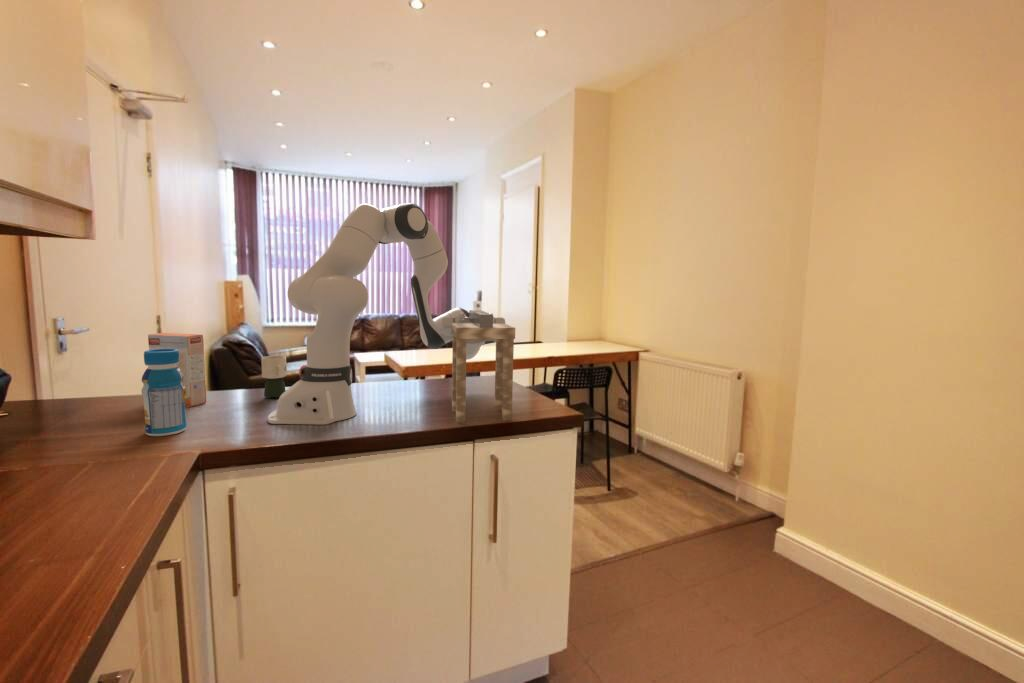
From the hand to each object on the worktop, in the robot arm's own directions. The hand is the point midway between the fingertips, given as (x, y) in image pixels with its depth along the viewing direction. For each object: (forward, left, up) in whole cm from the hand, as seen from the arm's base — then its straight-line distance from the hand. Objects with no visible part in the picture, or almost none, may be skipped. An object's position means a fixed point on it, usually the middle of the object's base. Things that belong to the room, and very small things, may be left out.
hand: (476, 315), depth 145 cm
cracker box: (-87, +13, -28) cm, 92 cm away
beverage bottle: (-78, -16, -28) cm, 85 cm away
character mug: (-62, +18, -28) cm, 70 cm away
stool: (0, -11, -28) cm, 30 cm away
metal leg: (0, -7, -2) cm, 8 cm away
